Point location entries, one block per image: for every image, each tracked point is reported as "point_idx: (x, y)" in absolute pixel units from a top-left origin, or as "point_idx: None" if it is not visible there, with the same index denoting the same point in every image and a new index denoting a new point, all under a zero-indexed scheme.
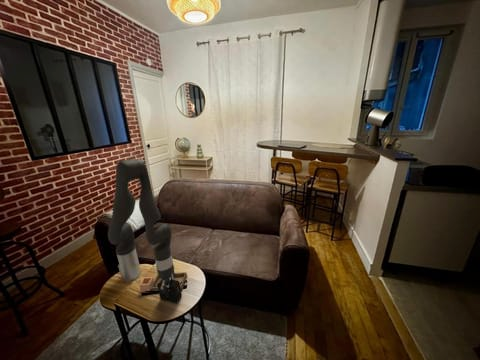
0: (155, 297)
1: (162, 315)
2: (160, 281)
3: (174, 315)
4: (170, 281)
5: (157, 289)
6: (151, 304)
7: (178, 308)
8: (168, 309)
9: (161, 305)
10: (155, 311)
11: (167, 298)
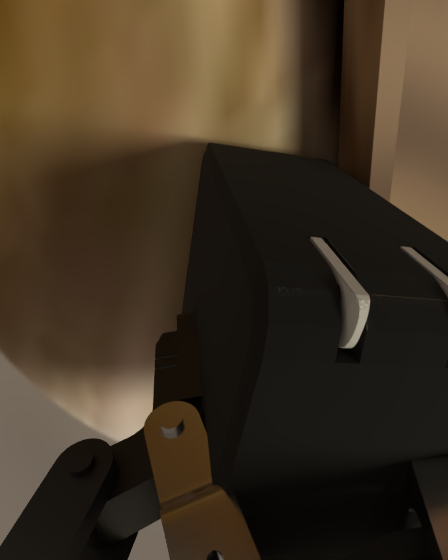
0: (234, 26)
1: (3, 288)
2: (374, 359)
3: (48, 392)
4: (341, 552)
5: (367, 2)
6: (99, 31)
7: (127, 391)
8: (91, 312)
9: (120, 206)
10: (16, 173)
11: (190, 284)
